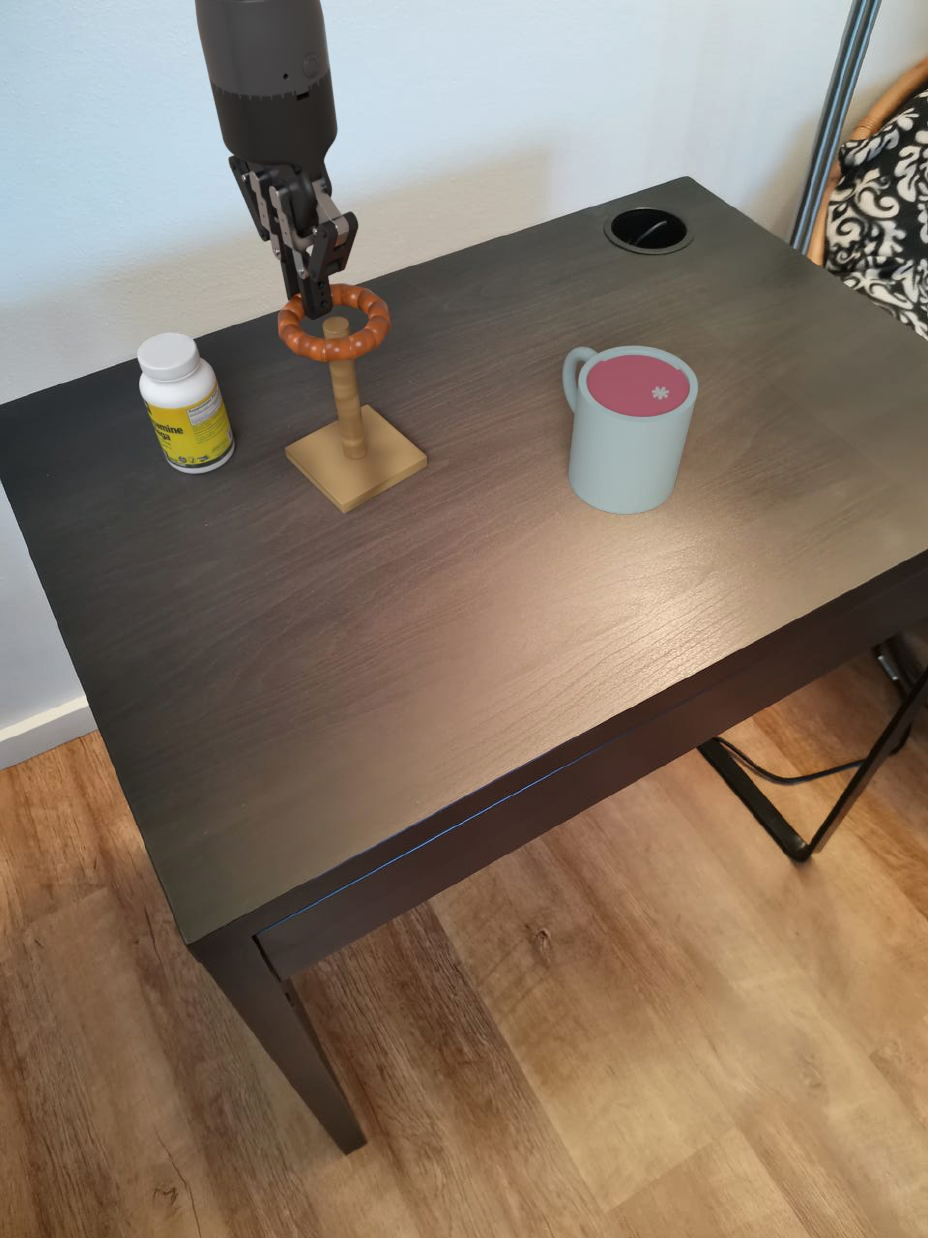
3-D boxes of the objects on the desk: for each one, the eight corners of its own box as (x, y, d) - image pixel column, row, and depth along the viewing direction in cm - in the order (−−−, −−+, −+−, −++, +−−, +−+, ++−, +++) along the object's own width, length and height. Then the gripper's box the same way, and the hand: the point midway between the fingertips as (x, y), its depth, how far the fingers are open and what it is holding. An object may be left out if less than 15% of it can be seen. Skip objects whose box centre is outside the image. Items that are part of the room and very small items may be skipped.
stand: (344, 514, 74) (319, 378, 63) (286, 457, 79) (253, 319, 67) (428, 465, 78) (419, 328, 66) (368, 413, 82) (350, 275, 70)
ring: (320, 380, 64) (317, 362, 63) (259, 325, 68) (255, 307, 66) (412, 335, 67) (411, 316, 66) (349, 284, 71) (347, 266, 69)
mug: (697, 487, 76) (723, 394, 68) (609, 529, 73) (625, 438, 65) (602, 397, 83) (615, 304, 75) (519, 433, 80) (523, 340, 72)
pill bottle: (152, 453, 79) (110, 351, 70) (208, 419, 82) (174, 316, 73) (194, 487, 77) (156, 384, 68) (250, 450, 79) (221, 347, 70)
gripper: (160, 43, 56) (224, 286, 70) (275, 120, 50) (320, 370, 64) (261, 12, 59) (303, 252, 73) (382, 81, 53) (402, 329, 67)
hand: (311, 306), depth 68 cm, fingers closed on ring, 1 cm apart
